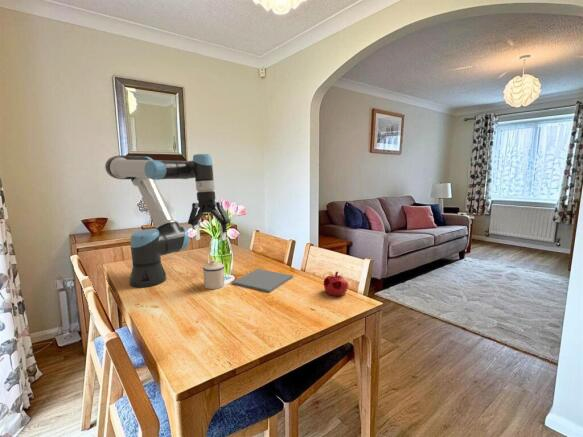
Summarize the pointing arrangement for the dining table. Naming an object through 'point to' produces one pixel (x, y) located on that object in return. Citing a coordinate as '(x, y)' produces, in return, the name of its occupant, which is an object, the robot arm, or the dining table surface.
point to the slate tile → (263, 280)
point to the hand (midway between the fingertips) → (210, 240)
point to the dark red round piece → (335, 285)
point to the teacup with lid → (213, 275)
